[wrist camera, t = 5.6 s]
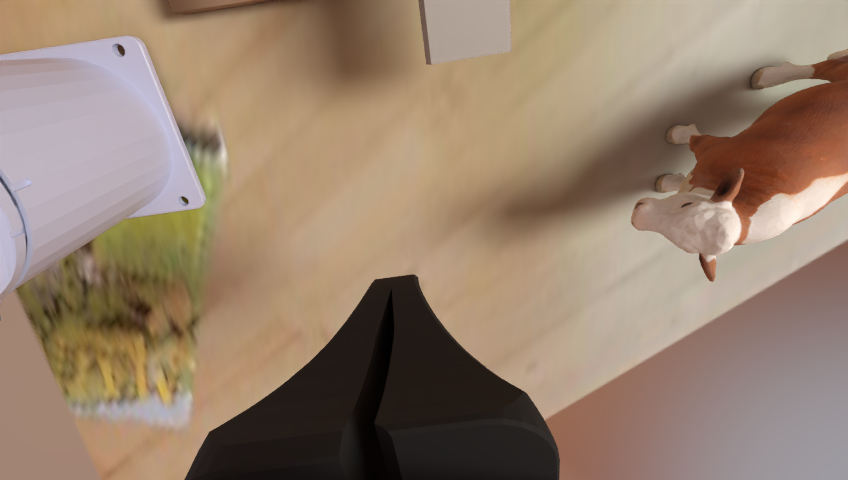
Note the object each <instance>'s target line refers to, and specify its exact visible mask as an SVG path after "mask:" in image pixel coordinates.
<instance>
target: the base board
mask: <svg viewBox="0 0 848 480" xmlns="http://www.w3.org/2000/svg"><path fill="white" fill-rule="evenodd" d="M267 1H274V0H168V3H169V6H170V8H171V11H172V13H177V14H189V13H196V12H202V11H209V10H215V9H222V8H228V7H235V6H241V5H248V4H254V3H261V2H267Z"/></svg>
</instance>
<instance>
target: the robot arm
mask: <svg viewBox="0 0 848 480" xmlns="http://www.w3.org/2000/svg"><path fill="white" fill-rule="evenodd" d="M119 44H120V45H122V46H123V48H124V49H125V55H124V56H123V55H121V54H120V53H119V51H118V46H119ZM182 196H183V197H185V198H187V199H188V201H189V203H185V202H184V201H183V200H182ZM205 202H206V196H205V194H204V191H203V189H202V186H201V184H200V181H199V179H198V176H197V174H196V171H195V169H194V166H193V164H192V161H191V159H190V156H189V154H188V151H187V149H186V146H185V144H184V141H183V139H182V136H181V134H180V131H179V129H178V126H177V124H176V121H175V119H174V116H173V113H172V111H171V108H170V106H169V103H168V101H167V98H166V96H165V93H164V91H163V88H162V86H161V83H160V81H159V78H158V76H157V73H156V71H155V68H154V66H153V63H152V61H151V58H150V56H149V53H148V51H147V48H146V46H145V44H144V43H143V42H142V41H141V40H140V39H139V38H137V37H135V36H120V37H113V38H107V39H100V40H94V41H87V42H81V43H74V44H68V45H61V46H55V47H48V48H42V49H35V50H29V51H22V52H15V53H9V54H2V55H0V303H1V301H2V299H3V298H4V297H5V295H6V294H8V293H10V292H11V291H13V290H14V289H16V288H17V287H19V286H21V285H22V284H24V283H25V282H27V281H28V280H30V279H32V278H33V277H35V276H36V275H38V274H39V273H41V272H43V271H44V270H46V269H47V268H49V267H50V266H52V265H53V264H55V263H57V262H58V261H60V260H61V259H63V258H64V257H66V256H68V255H69V254H71V253H72V252H74V251H75V250H77V249H79V248H80V247H82V246H83V245H85V244H86V243H88V242H90V241H91V240H93V239H94V238H96V237H97V236H99V235H100V234H102V233H104V232H105V231H107V230H108V229H110V228H111V227H113V226H115V225H116V224H118V223H119V222H121V221H122V220H124V219H127V218H134V217H142V216H149V215H156V214H163V213H170V212H177V211H184V210H191V209H197V208H200V207H202V206H203V205H204V204H205ZM0 320H1V317H0ZM559 465H560V459H559V453H558V448H557V445H556V443H555V440H554V438H553V436H552V434H551V432H550V430H549V428H548V426H547V424H546V422H545V421H544V419H543V417H542V416H541V414H540V412H539V411H538V409H537V408H536V406H535V405H534V403H533V402H532V400H531V399H530V397H529V396H528V394H527V393H526V392H524V391H522V390H521V389H519V388H517V387H515V386H514V385H512V384H510V383H508V382H507V381H505V380H503V379H501V378H500V377H498V376H497V375H496V374H494V373H493V372H491V371H490V370H488V369H487V368H486V367H485V366H484V365H482V364H481V363H480V362H479V361H477V360H476V359H475V358H474V357H473V356H471V355H470V354H469V353H468V352H467V351H466V350H465V349H464V348H463V347H462V346H461V345H460V344H459V343H458V342H457V341H456V340H455V339H454V338H453V337H452V336H451V335H450V334H449V332H448V331H447V330H446V329H445V327H444V326H443V325H442V324H441V322H440V321H439V320H438V318H437V317H436V315H435V314H434V312H433V311H432V309H431V308H430V306H429V304H428V303H427V301H426V299H425V297H424V295H423V293H422V291H421V288H420V286H419V281H418V277H417V276H415V275H414V274H413V275H405V276H398V277H391V278H383V279H376V280H374V281H373V283H372V284H371V286H370V287H369V289H368V290H367V292H366V293H365V295H364V296H363V298H362V300H361V301H360V303H359V304H358V305H357V307H356V308H355V310H354V311H353V312H352V314H351V315H350V317H349V318H348V319H347V321H346V322H345V323H344V325H343V326H342V327H341V328H340V330H339V331H338V332H337V333H336V335H335V336H334V337H333V338H332V339H331V341H330V342H329V343H328V344H327V345H326V346H325V347H324V348H323V349H322V350H321V351H320V352H319V353H318V354H317V355H316V356H315V357H314V358H313V359H312V360H311V361H310V362H309V363H308V364H306V365H305V366H304V367H303V368H302V369H301V370H299V371H298V372H297V373H296V374H295V375H294V376H292V377H291V378H290V379H289V380H288V381H287V382H285V383H284V384H283V385H281V386H280V387H279V388H277V389H276V390H275V391H273V392H272V393H271V394H269V395H268V396H266V397H265V398H263V399H262V400H261V401H259V402H258V403H256V404H255V405H253V406H252V407H250V408H249V409H247V410H246V411H244V412H242V413H241V414H239V415H237V416H236V417H234V418H232V419H231V420H229V421H227V422H226V423H224V424H222V425H221V426H219V427H217V428H216V429H214V430H212V431H210V432H209V434H208V435H207V437H206V439H205V441H204V442H203V444H202V446H201V448H200V449H199V451H198V453H197V455H196V457H195V459H194V461H193V463H192V466H191V468H190V470H189V472H188V474H187V476H186V478H185V480H559Z"/></svg>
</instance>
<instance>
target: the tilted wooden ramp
mask: <svg viewBox="0 0 848 480" xmlns="http://www.w3.org/2000/svg"><path fill="white" fill-rule="evenodd" d="M419 8H420V16H421V24H422V32H423V41H424V49H425V57H426V64H430V65H432V64H438V63H444V62H450V61H456V60H462V59H468V58H474V57H480V56H486V55H492V54H499V53H505V52H511V51H512V50H511V20H510V0H419Z"/></svg>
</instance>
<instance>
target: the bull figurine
mask: <svg viewBox="0 0 848 480" xmlns="http://www.w3.org/2000/svg"><path fill="white" fill-rule="evenodd" d="M827 59H828V60H826V61H823V62H820V63H817V64H812V65H804V66H799V65H793V64H791V63H789V62H784V63H782V65H781V66H780V67H764V68H761V69H759V70H758V71H757V72H756V73H755V74H754V75H753V77H752V81H751V83H752V87H753V88H754V89H758V90H760V89H764V88H769V87H773V86H777V85H780V84H783V83H787V82H789V81H793V80H798V79H822V80H828V81H830V82H831V83H825V84H821V85H817V86H813V87H810V88H807V89H804V90H801V91H798V92H796V93H794V94H792V95H790V96H788V97H786V98H784V99H782V100H780V101H778V102H777V103H775V104H774V105H772V106H771V107H770V108H768V109H767V110H766V111H765V112H764V113H763V114H762V115H761V116H760V117H759V118H758V119H757V120H756V121H755V122H754V123H753V124H752V125H751V126H750V127H749V128H748V129H746V130H744V131H743V132H741V133H739V134H738V135H736V136H734V137H714V136H710V135H701V134H700V132H699V131H698V130H697V126H696V125H695V124H690V125H689V126H682V125H675V126H672V127H671V128H670V129H669V130H668V131H667V133H666V140H667V142H668V143H672V144H689V148H690V150H691V151H692V152H694V153H695V157H696V160H697V164H696V166H695V168H694V169H693V170H692V171H691V172H690V173H689V174H688V175H687V177H685V176H684V175H683V174H681V173H679V174H678V175H667V174H666V175H663V176H661V177H660V178H659V179H658V180H657V182H656V186H655V187H656V189H657V191H658V192H661V193H665V192H669V191H674V190H676V191H679V192H678V193H677V194H675V195H672V196H670V197H668V198H665V199H662V200H659V199H655V198H643V199H641V200H639V201H638V202H637V203H636V205H635V207H634V210H633V214H632V217H631V222H632V225H633V226H634V227H635V228H636V229H637V230H641V231H645V230H649V231H654V232H658V233H660V234H662V235H663V236H665V237H666V238H667V239H668V240H670V241H671V242H673V243H674V244H675V245H676V246H677V247H679V248H681V249H683V250H684V251H686V252H688V253H699V260H700V263H701V266H702V268H703V270H704V272H705V275H706V276H707V278H708V279H709V281H712V282H713V281H714V279H715V268H716V260H715V257H716V256H717V255H721V254H723V253H725V252H727V251H729V250H730V249H731V248H732V246H733V245H742V244H748V243H753V242H757V241H762V240H766V239H770V238H772V237H775V236H777V235H779V234H781V233H782V232H783V231H785V230H786V229H787V228H789V227H790V226H791V225H794V224H797V223H799V222H801V221H804V220H806V219H807V218H809V217H811V216H813V215H815V214H816V213H818V212H819V211H820V210H822V209H823V208H824V207H825V206H826V205H828V204H829V203H830V202H832V201H834V200H835V199H837V198H839V197H841V196H843V195H845V194H847V193H848V49H846V50H843V51H839V52H836V53H833V54H831V55H829V56H828V58H827Z"/></svg>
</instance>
